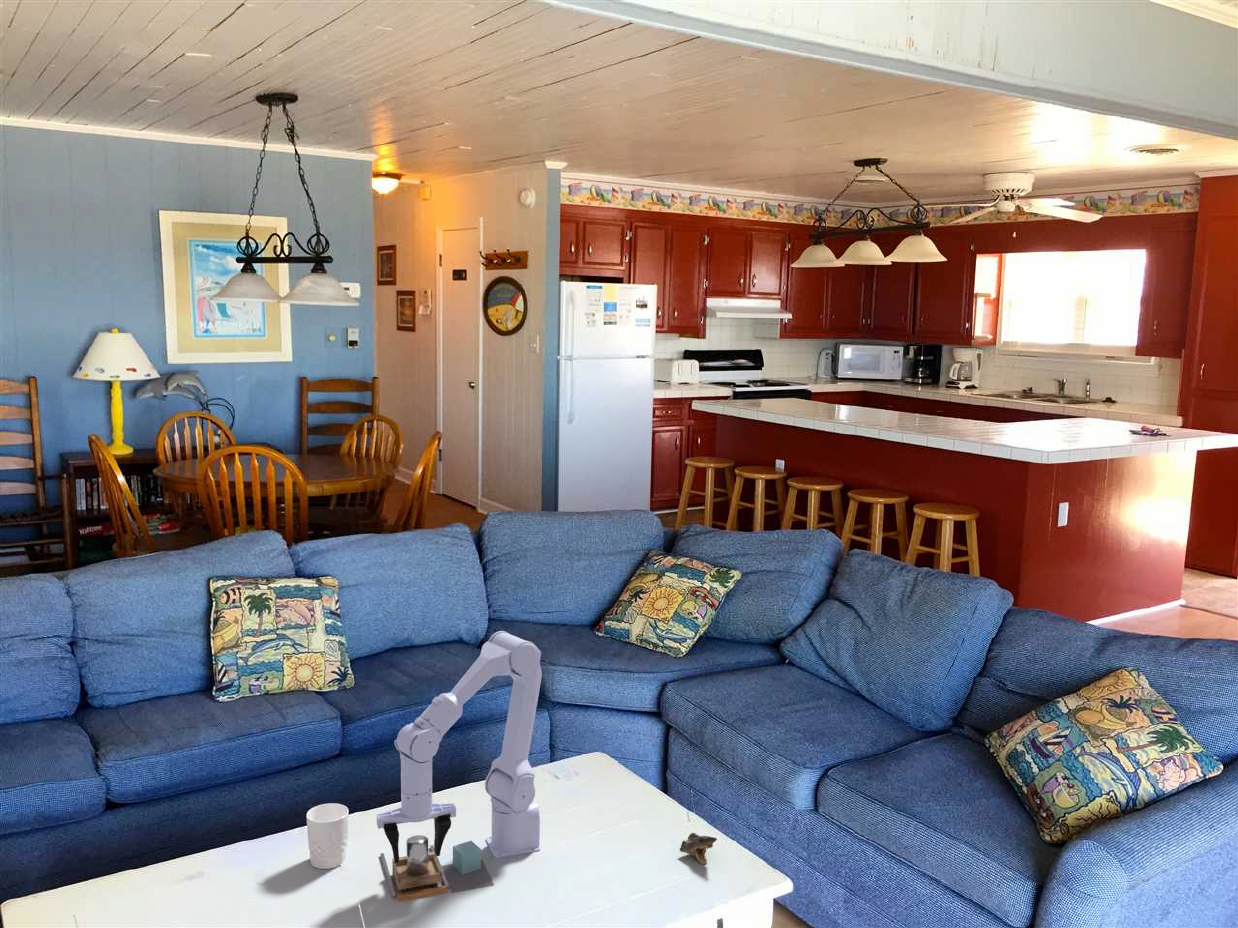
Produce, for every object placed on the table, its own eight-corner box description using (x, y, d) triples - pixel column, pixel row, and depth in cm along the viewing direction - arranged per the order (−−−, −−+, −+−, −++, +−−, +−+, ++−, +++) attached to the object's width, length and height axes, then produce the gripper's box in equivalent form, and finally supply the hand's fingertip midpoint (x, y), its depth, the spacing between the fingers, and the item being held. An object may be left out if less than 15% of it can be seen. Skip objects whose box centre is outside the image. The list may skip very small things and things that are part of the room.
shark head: (722, 869, 201) (729, 837, 200) (695, 871, 197) (703, 839, 197) (701, 847, 207) (708, 816, 207) (675, 849, 204) (682, 818, 204)
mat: (481, 860, 200) (481, 858, 200) (494, 886, 190) (494, 884, 190) (441, 866, 197) (441, 865, 197) (452, 893, 188) (452, 892, 187)
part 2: (471, 859, 199) (471, 840, 199) (480, 868, 196) (480, 848, 196) (452, 865, 197) (452, 846, 196) (462, 874, 194) (462, 854, 193)
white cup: (337, 873, 194) (336, 824, 192) (299, 868, 195) (298, 819, 194) (355, 852, 201) (355, 805, 200) (319, 848, 203) (318, 801, 201)
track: (432, 848, 204) (432, 843, 203) (450, 893, 188) (450, 887, 188) (380, 857, 200) (380, 851, 200) (393, 903, 184) (393, 897, 184)
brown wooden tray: (434, 868, 196) (434, 851, 196) (441, 888, 189) (441, 870, 189) (392, 875, 193) (392, 858, 193) (398, 896, 186) (398, 878, 186)
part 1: (428, 864, 193) (428, 834, 192) (428, 875, 189) (428, 844, 188) (406, 865, 192) (406, 835, 191) (406, 876, 188) (406, 846, 187)
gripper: (450, 774, 195) (450, 840, 197) (374, 784, 190) (374, 852, 192) (458, 789, 188) (458, 858, 190) (379, 801, 183) (379, 871, 185)
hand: (416, 856), depth 190 cm, fingers open, 7 cm apart
